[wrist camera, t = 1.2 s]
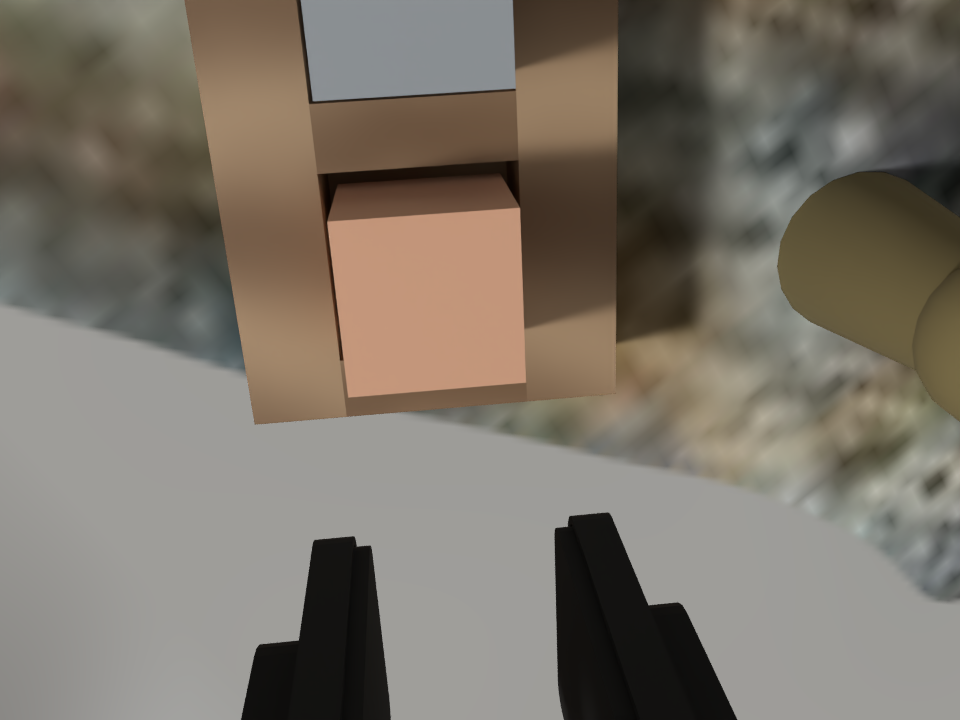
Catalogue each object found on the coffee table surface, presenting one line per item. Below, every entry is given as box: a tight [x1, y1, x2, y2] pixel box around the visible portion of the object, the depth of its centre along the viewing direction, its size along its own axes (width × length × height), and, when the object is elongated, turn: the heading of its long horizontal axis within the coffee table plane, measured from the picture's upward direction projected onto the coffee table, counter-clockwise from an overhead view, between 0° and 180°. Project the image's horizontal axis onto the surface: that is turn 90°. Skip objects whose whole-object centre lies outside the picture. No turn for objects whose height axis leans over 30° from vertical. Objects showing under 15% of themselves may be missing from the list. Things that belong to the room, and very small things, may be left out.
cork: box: [777, 172, 960, 421], centre depth 28 cm, size 6×6×11 cm
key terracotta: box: [327, 173, 526, 398], centre depth 27 cm, size 5×5×5 cm
